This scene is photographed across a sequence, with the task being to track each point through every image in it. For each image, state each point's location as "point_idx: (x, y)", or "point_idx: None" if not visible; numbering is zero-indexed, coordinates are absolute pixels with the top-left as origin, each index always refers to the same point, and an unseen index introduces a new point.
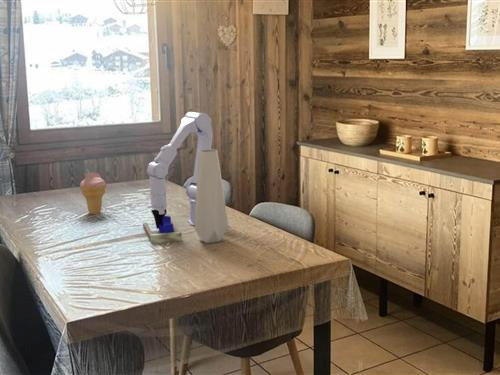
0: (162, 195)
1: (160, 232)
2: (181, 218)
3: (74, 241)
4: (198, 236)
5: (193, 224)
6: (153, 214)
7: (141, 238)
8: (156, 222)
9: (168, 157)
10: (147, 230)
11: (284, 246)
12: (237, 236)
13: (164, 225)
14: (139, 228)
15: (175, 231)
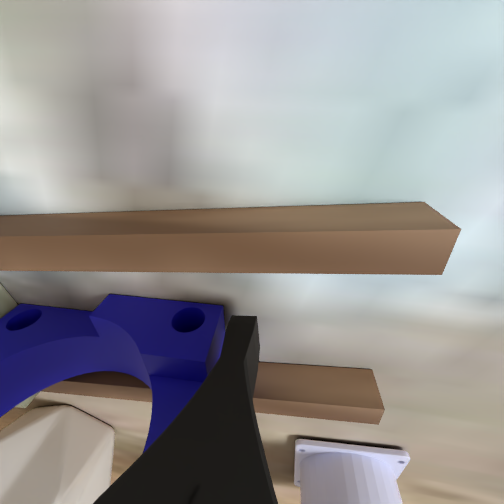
0: None
1: (90, 317)
2: (491, 444)
3: None
4: (29, 423)
5: (295, 447)
6: (105, 491)
7: (29, 149)
8: (218, 364)
9: None
10: (89, 239)
11: None
12: (127, 465)
13: (151, 382)
14: (425, 154)
15: (89, 386)
